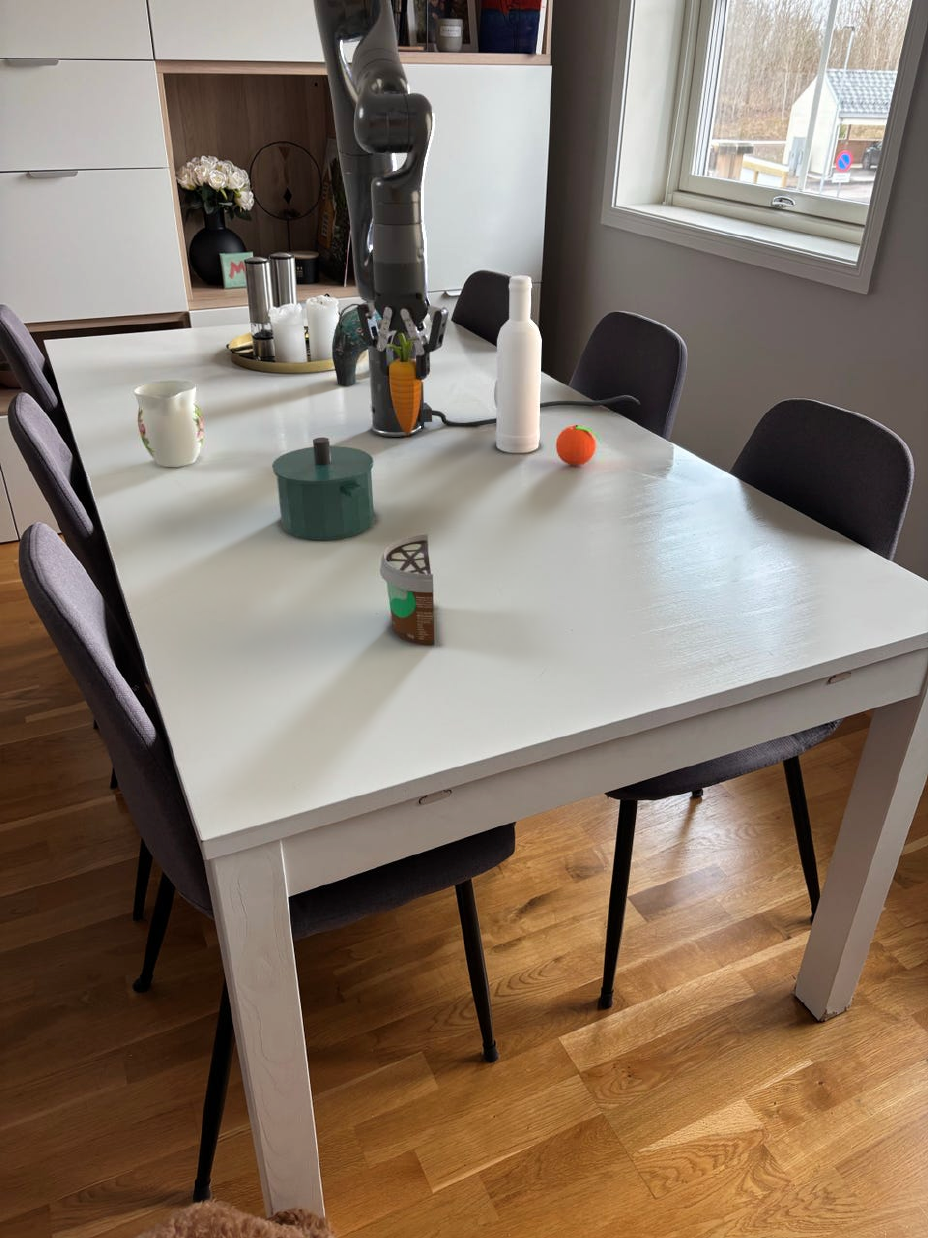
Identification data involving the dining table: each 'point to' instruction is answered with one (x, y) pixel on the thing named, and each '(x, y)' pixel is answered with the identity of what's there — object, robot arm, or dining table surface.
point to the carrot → (405, 385)
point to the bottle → (518, 373)
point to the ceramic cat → (348, 345)
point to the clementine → (576, 445)
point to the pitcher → (170, 422)
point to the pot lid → (322, 464)
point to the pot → (326, 508)
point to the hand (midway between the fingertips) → (405, 376)
